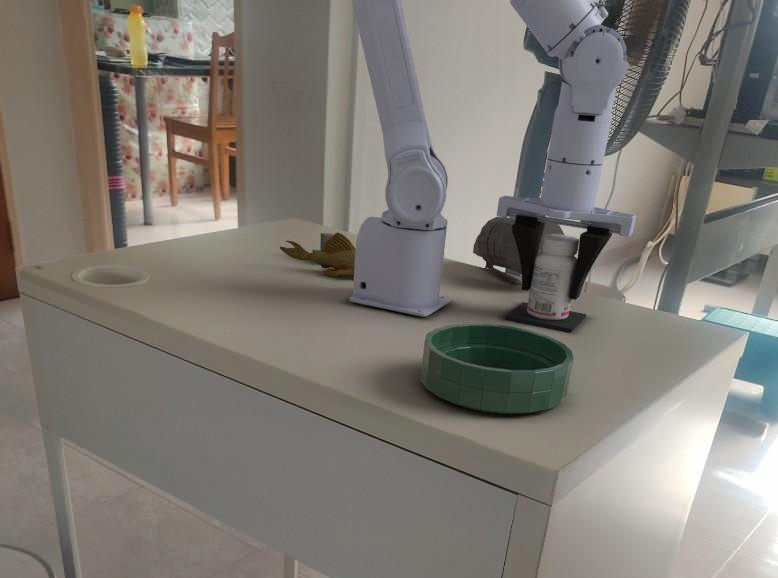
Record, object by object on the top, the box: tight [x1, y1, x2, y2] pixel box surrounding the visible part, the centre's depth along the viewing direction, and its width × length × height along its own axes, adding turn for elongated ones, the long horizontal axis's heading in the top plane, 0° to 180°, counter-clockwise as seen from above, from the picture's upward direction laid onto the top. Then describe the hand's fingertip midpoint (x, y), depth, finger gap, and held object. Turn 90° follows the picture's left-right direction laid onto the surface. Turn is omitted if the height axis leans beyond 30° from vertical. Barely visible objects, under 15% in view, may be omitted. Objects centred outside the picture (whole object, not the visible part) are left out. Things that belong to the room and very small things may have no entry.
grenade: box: [472, 216, 566, 285], centre depth 109 cm, size 8×8×15 cm
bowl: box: [420, 322, 575, 415], centre depth 73 cm, size 13×13×4 cm
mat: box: [504, 301, 587, 333], centre depth 95 cm, size 8×7×1 cm
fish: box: [279, 232, 356, 278], centre depth 104 cm, size 5×14×5 cm, turn 77°
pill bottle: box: [527, 234, 580, 320], centre depth 93 cm, size 5×5×8 cm
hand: (550, 293), depth 94 cm, fingers closed on pill bottle, 5 cm apart
